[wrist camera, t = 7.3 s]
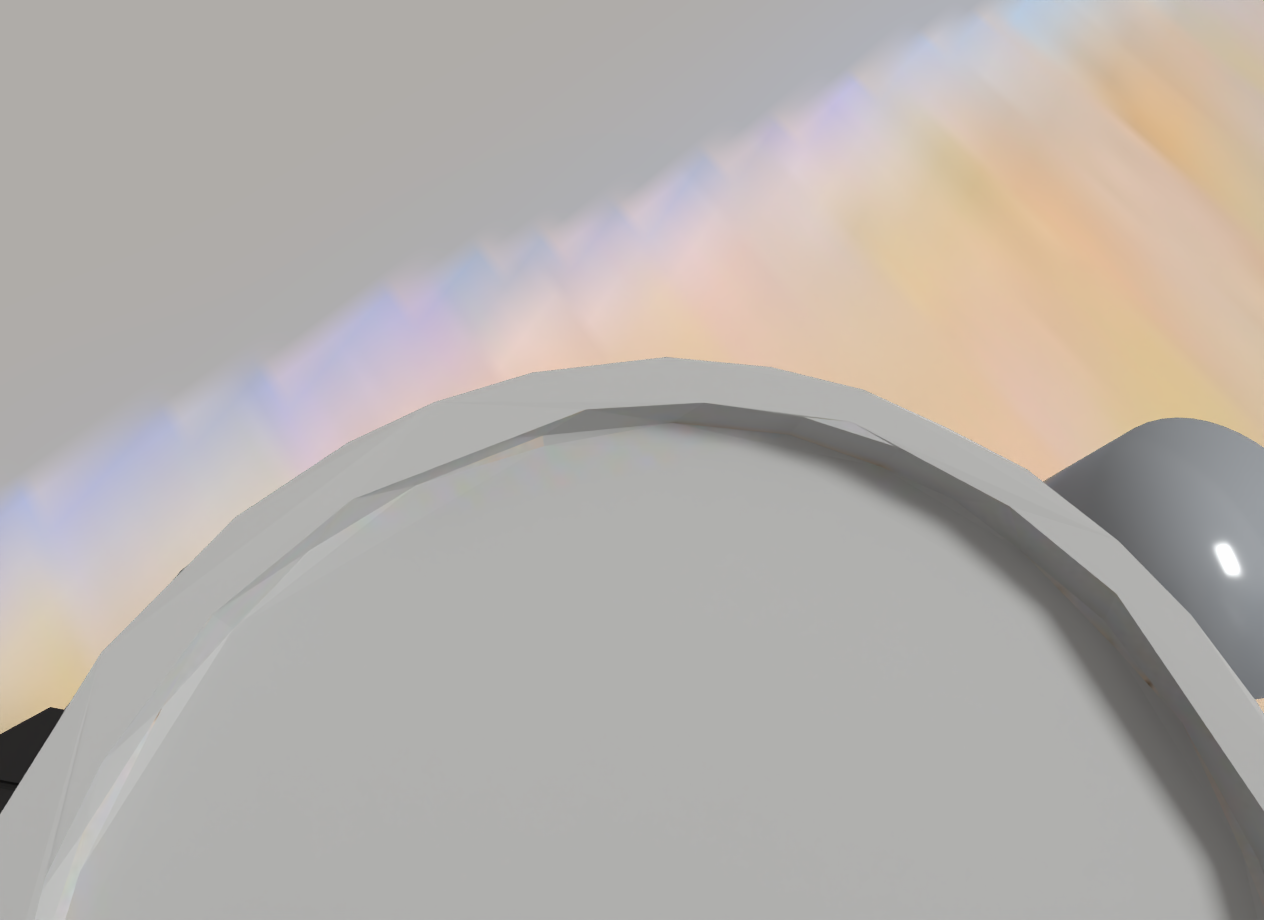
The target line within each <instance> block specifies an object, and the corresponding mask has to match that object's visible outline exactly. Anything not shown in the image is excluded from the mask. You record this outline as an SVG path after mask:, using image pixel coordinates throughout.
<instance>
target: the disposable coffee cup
mask: <svg viewBox="0 0 1264 920" xmlns="http://www.w3.org/2000/svg"><path fill="white" fill-rule="evenodd" d="M0 920H1264V713H1263V712H1262V710H1261V708H1260V707H1259V705H1258V703H1257V702H1256V701H1255V699H1254V698H1253V697H1252V695H1251V694H1250V693H1249V691H1248V690H1247V689H1246V687H1245V686H1244V685H1243V683H1242V682H1241V681H1240V679H1239V678H1238V677H1237V675H1236V674H1235V673H1234V671H1233V670H1232V669H1231V667H1230V666H1229V665H1228V663H1227V662H1226V661H1225V659H1224V658H1223V657H1222V655H1221V654H1220V653H1219V651H1218V650H1217V649H1216V647H1215V646H1214V645H1213V643H1212V642H1211V641H1210V639H1209V638H1208V637H1207V635H1206V634H1205V633H1204V631H1203V630H1202V629H1201V627H1200V626H1199V625H1198V623H1197V622H1196V621H1195V620H1194V618H1193V617H1192V616H1191V614H1190V613H1189V612H1188V611H1187V610H1186V609H1185V608H1184V607H1183V606H1182V605H1181V604H1180V603H1179V602H1178V601H1177V600H1176V599H1175V598H1174V597H1173V596H1172V595H1171V594H1170V593H1169V592H1168V591H1167V590H1166V589H1165V588H1164V587H1163V586H1162V585H1161V584H1160V583H1159V582H1158V581H1157V580H1156V579H1155V578H1154V577H1153V576H1152V575H1151V574H1150V573H1149V572H1148V571H1147V570H1146V569H1145V568H1144V566H1143V565H1142V564H1141V563H1140V562H1139V561H1138V560H1137V559H1136V558H1135V557H1134V556H1133V555H1132V554H1131V553H1130V552H1129V551H1128V550H1127V549H1126V548H1125V547H1124V546H1123V545H1122V544H1121V543H1120V542H1119V541H1118V540H1117V539H1115V538H1114V537H1113V536H1111V535H1110V534H1109V533H1108V532H1106V531H1105V530H1104V529H1103V528H1101V527H1100V526H1099V525H1097V524H1096V523H1095V522H1094V521H1092V520H1091V519H1090V518H1088V517H1087V516H1086V515H1085V514H1083V513H1082V512H1081V511H1079V510H1078V509H1077V508H1076V507H1074V506H1073V505H1072V504H1070V503H1069V502H1068V501H1067V500H1065V499H1064V498H1063V497H1062V496H1060V495H1059V494H1058V493H1056V492H1055V491H1054V490H1053V489H1051V488H1050V487H1049V486H1047V485H1046V484H1045V483H1044V482H1042V481H1041V480H1040V479H1038V478H1037V477H1036V476H1035V475H1033V474H1032V473H1031V472H1029V471H1028V470H1027V469H1025V468H1023V467H1021V466H1019V465H1017V464H1015V463H1013V462H1012V461H1010V460H1008V459H1006V458H1004V457H1002V456H1000V455H998V454H996V453H994V452H992V451H990V450H988V449H987V448H985V447H983V446H981V445H979V444H977V443H975V442H973V441H971V440H969V439H967V438H965V437H963V436H961V435H960V434H958V433H956V432H954V431H952V430H950V429H948V428H946V427H944V426H942V425H939V424H937V423H935V422H933V421H931V420H929V419H926V418H924V417H922V416H920V415H918V414H915V413H913V412H911V411H909V410H907V409H904V408H902V407H900V406H898V405H896V404H894V403H891V402H889V401H887V400H885V399H883V398H880V397H878V396H876V395H874V394H872V393H869V392H867V391H865V390H862V389H858V388H854V387H850V386H846V385H842V384H837V383H833V382H829V381H825V380H821V379H817V378H813V377H809V376H805V375H801V374H797V373H793V372H788V371H784V370H780V369H776V368H772V367H763V366H753V365H742V364H732V363H722V362H711V361H701V360H690V359H680V358H669V357H664V358H655V359H646V360H638V361H629V362H620V363H612V364H603V365H594V366H586V367H577V368H568V369H560V370H551V371H542V372H534V373H530V374H526V375H523V376H520V377H516V378H513V379H510V380H506V381H503V382H500V383H496V384H493V385H490V386H487V387H483V388H480V389H477V390H473V391H470V392H467V393H463V394H460V395H457V396H453V397H450V398H447V399H443V400H440V401H437V402H434V403H432V404H430V405H427V406H425V407H423V408H421V409H419V410H417V411H415V412H412V413H410V414H408V415H406V416H404V417H402V418H400V419H397V420H395V421H393V422H391V423H389V424H387V425H385V426H382V427H380V428H378V429H376V430H374V431H372V432H370V433H368V434H365V435H363V436H361V437H359V438H357V439H355V440H353V441H350V442H348V443H347V444H345V445H344V446H342V447H341V448H339V449H338V450H336V451H335V452H333V453H332V454H330V455H329V456H327V457H326V458H324V459H323V460H321V461H320V462H318V463H317V464H315V465H314V466H312V467H311V468H309V469H308V470H306V471H305V472H303V473H301V474H300V475H298V476H297V477H295V478H294V479H292V480H291V481H289V482H288V483H286V484H285V485H283V486H282V487H280V488H279V489H277V490H276V491H274V492H273V493H271V494H270V495H268V496H267V497H265V498H264V499H262V500H261V501H259V502H258V503H256V504H255V505H253V506H252V507H250V508H249V509H247V510H246V511H244V512H243V513H241V514H240V515H238V516H237V517H235V518H234V519H233V520H232V521H231V522H230V523H229V524H228V525H227V526H226V527H225V528H224V529H223V530H222V531H221V532H220V533H219V534H218V535H217V536H216V537H215V538H214V539H213V540H212V541H211V542H210V543H209V544H208V546H207V547H206V548H205V549H204V550H203V551H202V552H201V553H200V554H199V555H198V556H197V557H196V558H195V559H194V560H193V561H192V562H191V563H190V564H189V565H188V566H186V567H185V568H184V569H183V570H181V571H180V572H179V574H178V575H177V576H176V577H175V578H174V580H173V581H172V582H171V583H170V584H169V585H168V586H167V587H166V588H165V589H164V590H163V591H162V592H161V593H160V594H159V595H158V596H157V597H156V598H155V599H154V600H153V601H152V602H151V603H150V604H149V605H148V606H147V607H146V608H145V609H144V610H143V611H142V612H141V613H140V614H139V615H138V616H137V617H136V618H135V619H134V620H133V621H132V622H131V623H130V624H129V625H128V626H127V627H126V628H125V629H124V630H123V631H122V632H121V633H120V634H119V635H118V636H117V637H116V638H115V639H114V640H113V641H112V642H111V643H110V644H109V645H108V646H107V647H106V648H105V649H104V650H103V651H102V652H101V654H100V656H99V657H98V659H97V660H96V662H95V664H94V665H93V667H92V668H91V670H90V672H89V673H88V675H87V676H86V678H85V680H84V681H83V683H82V684H81V686H80V688H79V689H78V691H77V692H76V694H75V696H74V697H73V699H72V700H71V702H70V703H69V705H68V706H67V707H66V708H65V710H64V712H63V714H62V716H61V717H60V719H59V721H58V723H57V724H56V726H55V727H54V729H53V731H52V732H51V734H50V735H49V737H48V739H47V740H46V742H45V743H44V745H43V747H42V748H41V750H40V751H39V753H38V755H37V756H36V758H35V759H34V761H33V763H32V764H31V766H30V767H29V769H28V771H27V772H26V774H25V775H24V777H23V779H22V780H21V782H20V783H19V785H18V787H17V788H16V790H15V791H14V793H13V795H12V796H11V798H10V799H9V801H8V803H7V804H6V806H5V807H4V809H3V810H2V812H1V814H0Z"/></svg>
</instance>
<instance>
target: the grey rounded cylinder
mask: <svg viewBox="0 0 1264 920" xmlns="http://www.w3.org/2000/svg"><path fill="white" fill-rule="evenodd" d="M1043 482H1044V483H1045V484H1046V485H1047V486H1049V487H1050V488H1051V489H1053V490H1054V491H1055V492H1056V493H1058V494H1059V495H1060V496H1062V497H1063V498H1064V499H1065V500H1067V501H1068V502H1069V503H1070V504H1072V505H1073V506H1074V507H1076V508H1077V509H1078V510H1079V511H1081V512H1082V513H1083V514H1085V515H1086V516H1087V517H1088V518H1090V519H1091V520H1092V521H1094V522H1095V523H1096V524H1097V525H1099V526H1100V527H1101V528H1103V529H1104V530H1105V531H1106V532H1108V533H1109V534H1110V535H1111V536H1113V537H1114V538H1115V539H1117V540H1118V541H1119V542H1120V543H1121V544H1122V545H1123V546H1124V547H1125V548H1126V549H1127V550H1128V551H1129V552H1130V553H1131V554H1132V555H1133V556H1134V557H1135V558H1136V559H1137V560H1138V561H1139V562H1140V563H1141V564H1142V565H1143V566H1144V568H1145V569H1146V570H1147V571H1148V572H1149V573H1150V574H1151V575H1152V576H1153V577H1154V578H1155V579H1156V580H1157V581H1158V582H1159V583H1160V584H1161V585H1162V586H1163V587H1164V588H1165V589H1166V590H1167V591H1168V592H1169V593H1170V594H1171V595H1172V596H1173V597H1174V598H1175V599H1176V600H1177V601H1178V602H1179V603H1180V604H1181V605H1182V606H1183V607H1184V608H1185V609H1186V610H1187V611H1188V612H1189V613H1190V614H1191V616H1192V617H1193V618H1194V620H1195V621H1196V622H1197V623H1198V625H1199V626H1200V627H1201V629H1202V630H1203V631H1204V633H1205V634H1206V635H1207V637H1208V638H1209V639H1210V641H1211V642H1212V643H1213V645H1214V646H1215V647H1216V649H1217V650H1218V651H1219V653H1220V654H1221V655H1222V657H1223V658H1224V659H1225V661H1226V662H1227V663H1228V665H1229V666H1230V667H1231V669H1232V670H1233V671H1234V673H1235V674H1236V675H1237V677H1238V678H1239V679H1240V681H1241V682H1242V683H1243V685H1244V686H1245V687H1246V689H1247V690H1248V691H1249V693H1250V694H1251V695H1252V697H1253V698H1254V699H1260V698H1264V448H1263V447H1262V446H1260V445H1259V444H1257V443H1256V442H1254V441H1252V440H1251V439H1249V438H1247V437H1245V436H1244V435H1242V434H1240V433H1238V432H1235V431H1233V430H1231V429H1229V428H1226V427H1224V426H1221V425H1218V424H1214V423H1211V422H1208V421H1202V420H1197V419H1191V418H1167V419H1160V420H1156V421H1151V422H1148V423H1145V424H1143V425H1141V426H1138V427H1136V428H1134V429H1132V430H1130V431H1129V432H1127V433H1125V434H1124V435H1122V436H1120V437H1118V438H1117V439H1115V440H1113V441H1112V442H1110V443H1108V444H1106V445H1105V446H1103V447H1101V448H1100V449H1098V450H1096V451H1095V452H1093V453H1091V454H1089V455H1088V456H1086V457H1084V458H1083V459H1081V460H1079V461H1077V462H1076V463H1074V464H1072V465H1071V466H1069V467H1067V468H1065V469H1064V470H1062V471H1060V472H1059V473H1057V474H1055V475H1053V476H1052V477H1050V478H1048V479H1047V480H1045V481H1043Z"/></svg>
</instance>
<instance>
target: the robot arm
mask: <svg viewBox="0 0 1264 920" xmlns="http://www.w3.org/2000/svg"><path fill="white" fill-rule="evenodd" d="M63 712H64V710H63V709H57V708H52V707H50V708H48V709H46V710H44V711H42V712H40V713H39V714H37V715H35V716H33V717H31V718H29V719H28V720H26V721H24V722H22V723H20V724H18V725H17V726H15V727H13V728H11V729H9V730H8V731H6V732H4V733H2V734H0V814H1V812H2V810H3V809H4V807H5V806H6V804H7V803H8V801H9V799H10V798H11V796H12V795H13V793H14V791H15V790H16V788H17V787H18V785H19V783H20V782H21V780H22V779H23V777H24V775H25V774H26V772H27V771H28V769H29V767H30V766H31V764H32V763H33V761H34V759H35V758H36V756H37V755H38V753H39V751H40V750H41V748H42V747H43V745H44V743H45V742H46V740H47V739H48V737H49V735H50V734H51V732H52V731H53V729H54V727H55V726H56V724H57V723H58V721H59V719H60V717H61V716H62V714H63Z"/></svg>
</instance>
